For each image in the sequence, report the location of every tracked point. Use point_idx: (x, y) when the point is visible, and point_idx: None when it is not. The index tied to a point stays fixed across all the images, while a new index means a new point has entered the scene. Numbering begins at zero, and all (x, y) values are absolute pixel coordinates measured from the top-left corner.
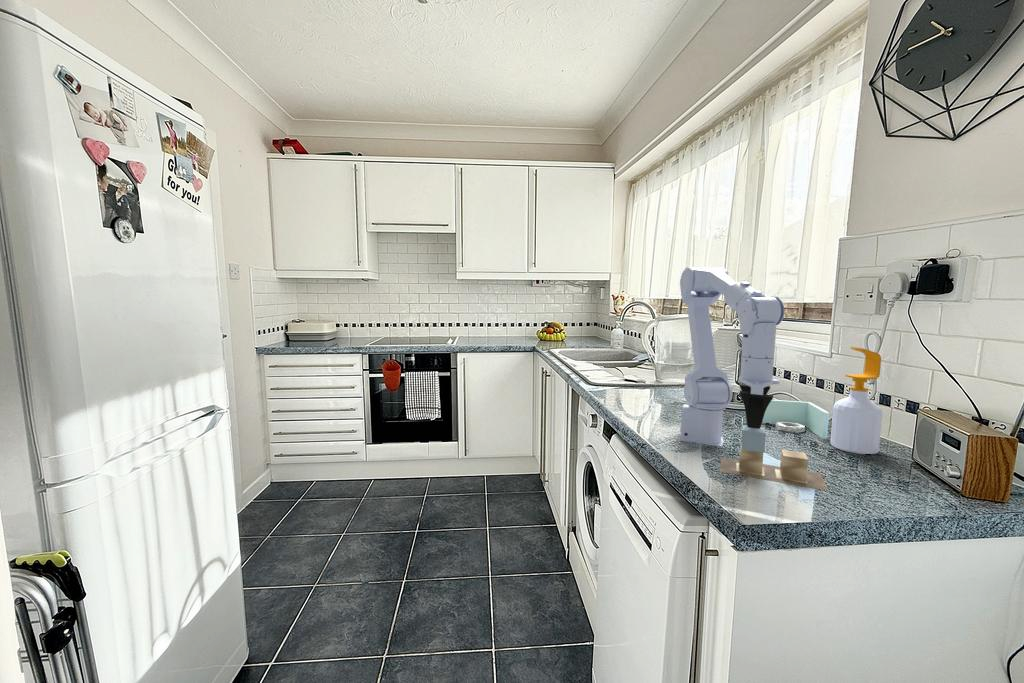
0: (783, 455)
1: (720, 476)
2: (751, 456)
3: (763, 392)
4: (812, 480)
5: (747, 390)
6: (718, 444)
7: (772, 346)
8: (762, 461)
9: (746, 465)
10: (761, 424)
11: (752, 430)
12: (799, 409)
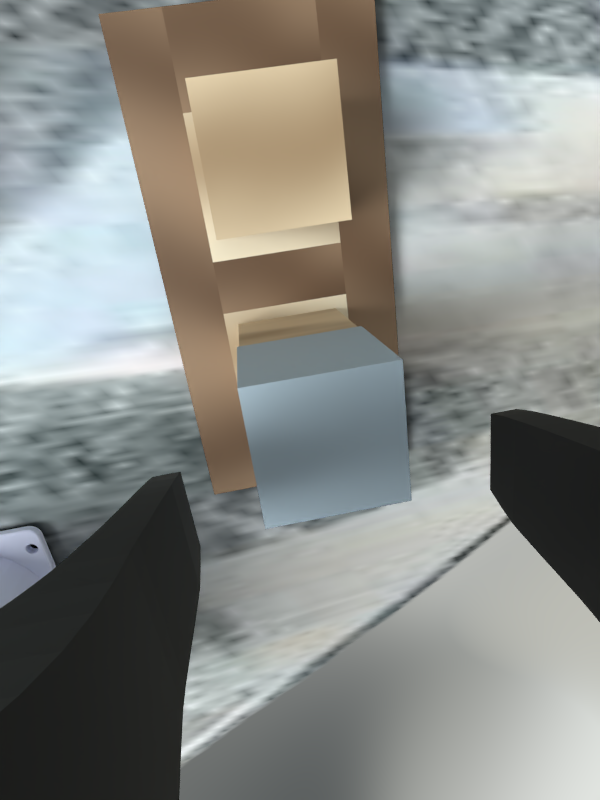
0: (344, 219)
1: (419, 444)
2: None
3: (78, 707)
4: (262, 66)
5: None
6: (16, 549)
7: None
8: (350, 321)
9: None
10: (540, 414)
11: (378, 449)
12: None
